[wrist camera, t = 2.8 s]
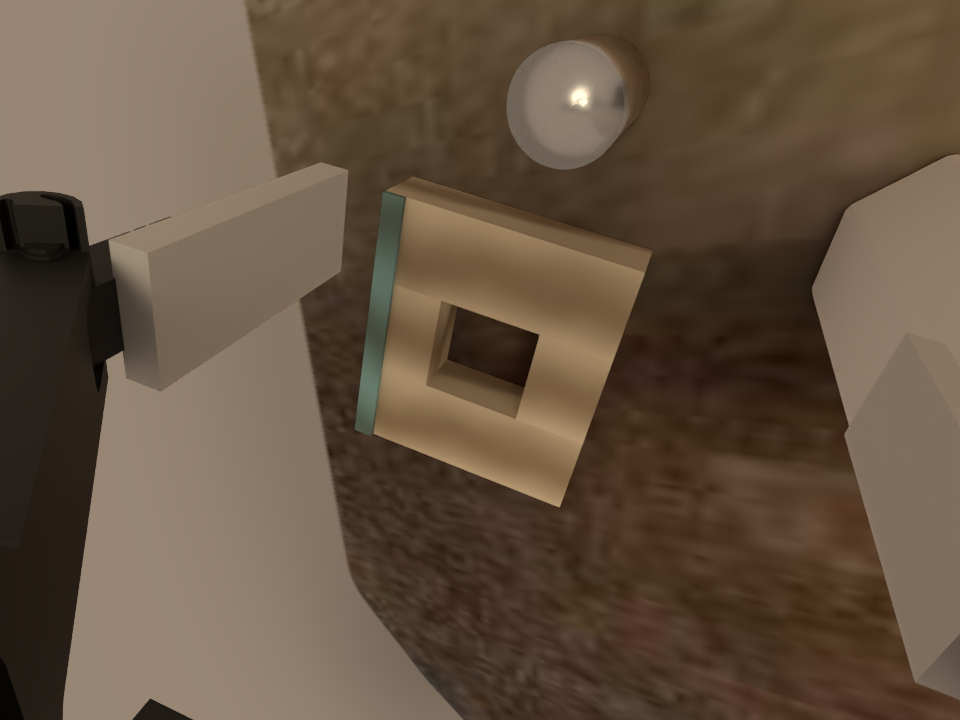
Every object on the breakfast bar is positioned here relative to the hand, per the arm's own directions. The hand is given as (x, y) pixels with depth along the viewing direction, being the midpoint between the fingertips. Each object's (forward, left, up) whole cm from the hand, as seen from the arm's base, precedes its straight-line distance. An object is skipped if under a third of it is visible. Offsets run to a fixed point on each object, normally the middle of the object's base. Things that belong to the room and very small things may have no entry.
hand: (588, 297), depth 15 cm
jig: (+13, -6, -20) cm, 24 cm away
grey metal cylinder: (-2, -4, -20) cm, 20 cm away
